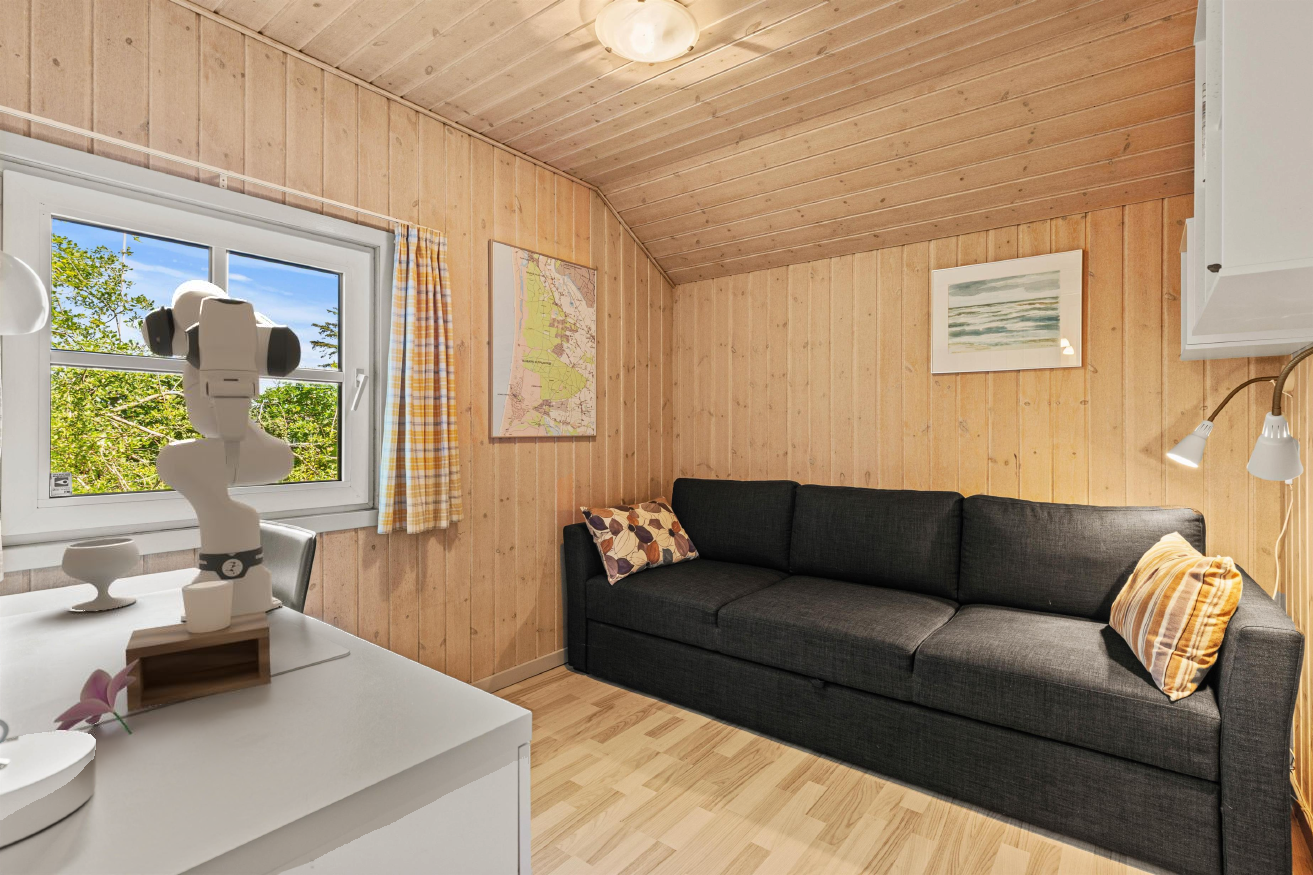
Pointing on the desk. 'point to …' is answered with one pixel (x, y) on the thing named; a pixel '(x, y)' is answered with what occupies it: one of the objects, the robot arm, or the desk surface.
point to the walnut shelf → (197, 660)
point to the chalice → (101, 568)
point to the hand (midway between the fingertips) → (232, 466)
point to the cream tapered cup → (208, 605)
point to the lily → (97, 698)
